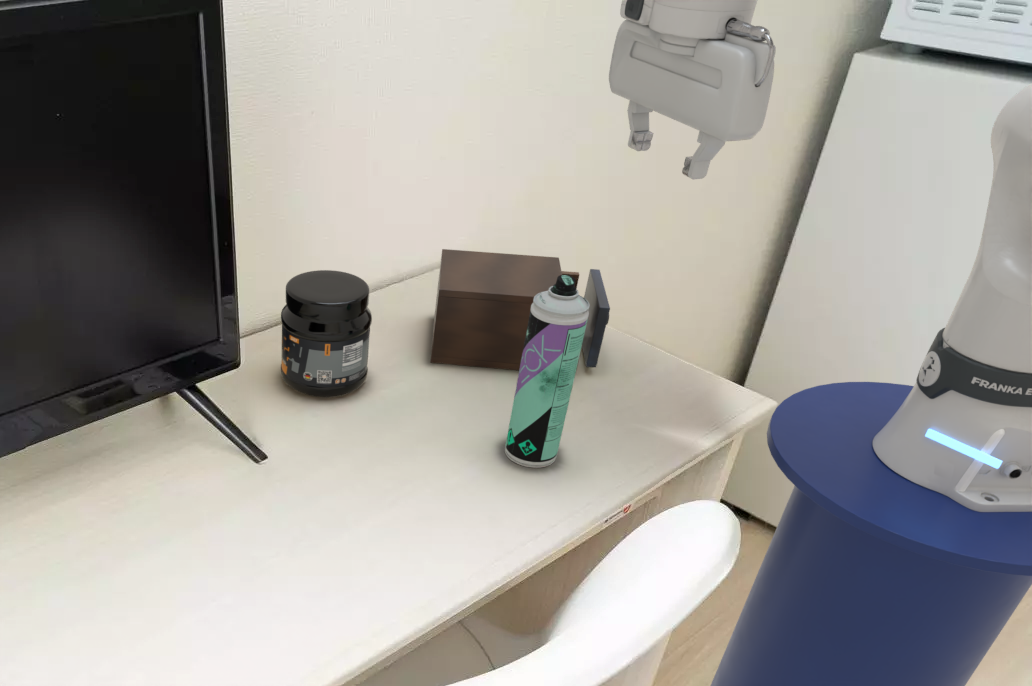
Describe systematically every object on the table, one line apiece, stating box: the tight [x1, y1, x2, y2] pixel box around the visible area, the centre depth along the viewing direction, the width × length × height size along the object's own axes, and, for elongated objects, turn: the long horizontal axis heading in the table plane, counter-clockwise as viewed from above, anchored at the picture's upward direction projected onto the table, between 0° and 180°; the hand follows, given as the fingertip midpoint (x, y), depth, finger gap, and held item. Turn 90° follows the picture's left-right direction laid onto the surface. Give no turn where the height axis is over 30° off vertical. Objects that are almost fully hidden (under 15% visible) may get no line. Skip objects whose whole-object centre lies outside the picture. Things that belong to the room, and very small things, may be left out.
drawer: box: [561, 268, 611, 368], centre depth 117 cm, size 15×12×8 cm
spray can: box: [504, 275, 590, 469], centre depth 94 cm, size 6×6×20 cm
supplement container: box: [280, 269, 373, 398], centre depth 109 cm, size 10×10×12 cm
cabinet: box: [430, 248, 562, 371], centre depth 117 cm, size 15×13×10 cm
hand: (664, 162), depth 94 cm, fingers open, 8 cm apart
